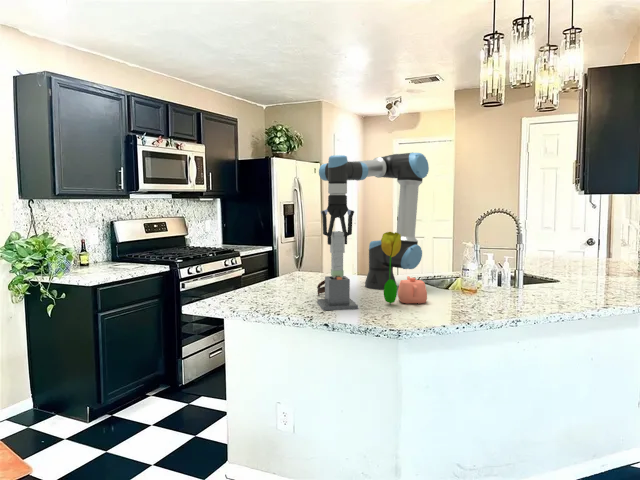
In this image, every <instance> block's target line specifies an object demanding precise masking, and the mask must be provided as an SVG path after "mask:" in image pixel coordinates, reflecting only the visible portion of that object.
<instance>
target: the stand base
mask: <svg viewBox="0 0 640 480" xmlns="http://www.w3.org/2000/svg"><path fill="white" fill-rule="evenodd" d="M324 280H325V284H324V286H325V292H324V298H317V299H316V303H317V304H318V306H319V307H320V308H321V309H322V311H341V310H342V311H343V310H358V309H359V305H358V304H357V303H356V302H355V301H354V300H353V299H351V298H350V288H351V287H350V285H351V283H350V282H351V280H350V278H348V277H347V276H345V275H344V276H343V279H342V277H336V279H331V275H330V276H324Z"/></svg>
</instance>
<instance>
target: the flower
mask: <svg viewBox="0 0 640 480" xmlns="http://www.w3.org/2000/svg"><path fill="white" fill-rule="evenodd" d="M380 240H381V247H382V250H383V252H384V253H385V254H386V255H388V256H390V271H391V257H393V256H395V255H396V254H397V253H398V252H399V251H400V248H401V234H399V233H397V231H396V232H392V231H387V232H385V233H383V234H382V237H381V239H380ZM383 296H384V301H385V302H386V303H388V304H389V305H390V306H391V304H393V303H395V302H396V299H397V296H398V285H397V282H396V283H395V282H394V280H393V279H392V280H391V279H390V273H389V280H388V281H387V282H386V283H385V286H384V289H383Z"/></svg>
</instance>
